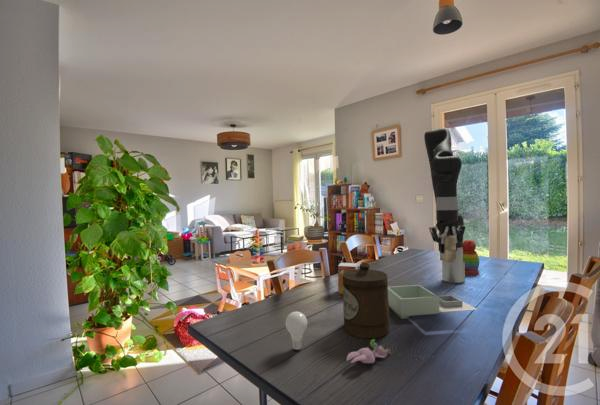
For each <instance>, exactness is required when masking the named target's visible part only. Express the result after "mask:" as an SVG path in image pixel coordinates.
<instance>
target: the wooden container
mask: <svg viewBox="0 0 600 405" xmlns="http://www.w3.org/2000/svg"><path fill="white" fill-rule="evenodd" d="M370 267H371V265H370V264H369V263H368V262H365V261H363V262H361V263H360V264H359V268H358V269H356V270H349V271H346V272H344V273H343V294H342V295H343V297H342V298H343V300H342V302H343V306H342V307H343V328H344V330H345V331H346V332H347V333H349V334H350V335H352V336H354V337H357V338H362V339H378V338H382V337H384V336H387V335H388V334H389V332H390V307H389V301H388V287H389V286H388V284H389V283H388V274H387V273H385V272H384V271H381V270H376V269H370Z"/></svg>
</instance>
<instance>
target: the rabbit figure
mask: <svg viewBox="0 0 600 405" xmlns="http://www.w3.org/2000/svg"><path fill="white" fill-rule="evenodd" d="M375 341H376V338H371V339H370V342H369V344H370V346H371V348H373V350H371V349H370V347H369V346H367V347H362V348H360V349H359V350H357V351H351V352H348V354H347V356H346V361H347V362H348V361H350V360H351V361H350V364H354V363H355V362H358V361H360V362H361V363H363V364H374V363H375V362H376V358H381V359H385V358H386V357H387V356H388V354H389V355H391V354H392V353H391V349H390V348H386V349H385V348H384V345H383V344H380V345H378V343H377V342H375Z"/></svg>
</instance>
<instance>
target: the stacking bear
mask: <svg viewBox="0 0 600 405" xmlns="http://www.w3.org/2000/svg"><path fill="white" fill-rule="evenodd" d="M476 244H477V243H476V242H475V241H473V240H471V239H467V240H463V244H462V249H463V262H464V263H465V276H468V275H469V276H477V275H479V274H480V271H479V267H480V257H479V253H478V252H477V251H476V248H477V245H476Z"/></svg>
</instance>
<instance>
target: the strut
mask: <svg viewBox="0 0 600 405" xmlns="http://www.w3.org/2000/svg"><path fill="white" fill-rule="evenodd" d="M444 251H445V253H443V254H442V253H440V252H439V260H440V261H441V262H442V261H444V262H456V236H453V235H446V236H445V238H444Z"/></svg>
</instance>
